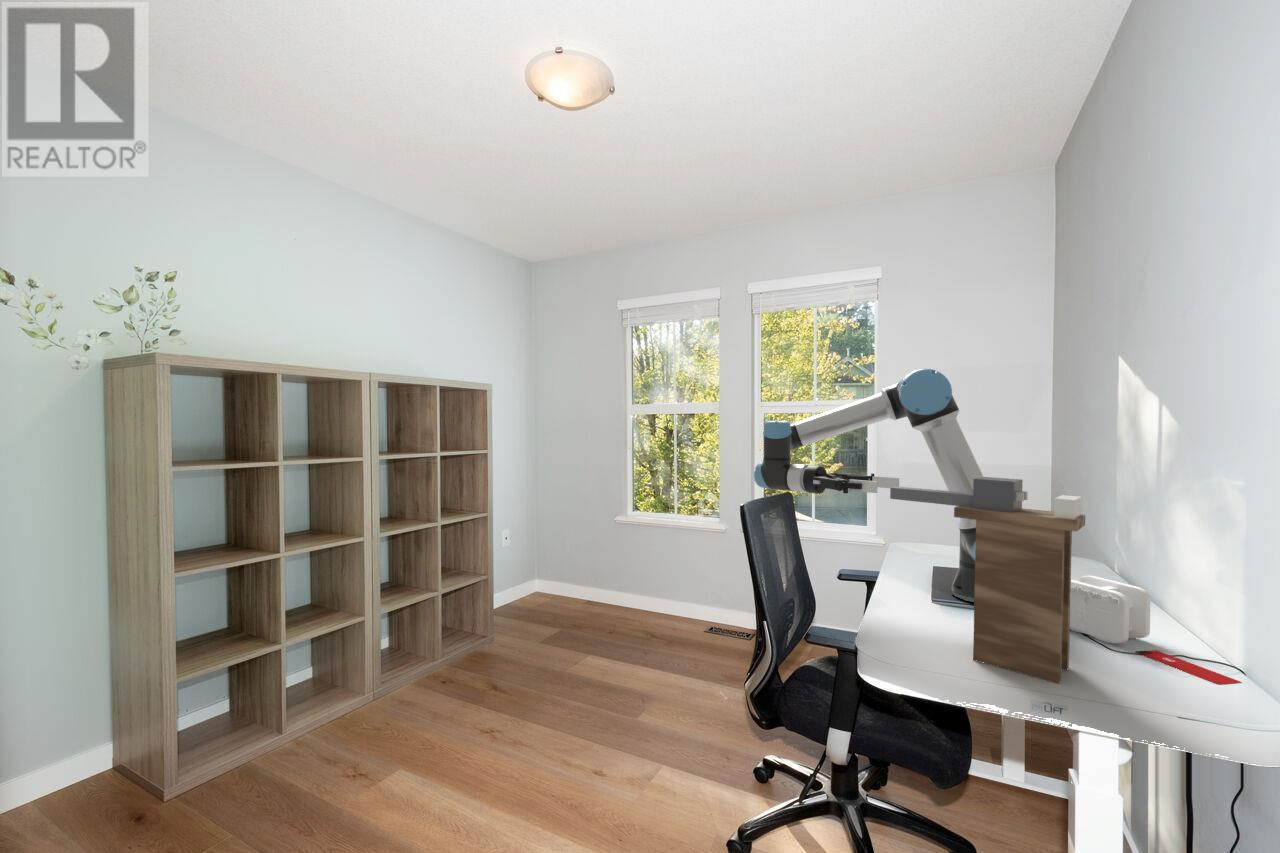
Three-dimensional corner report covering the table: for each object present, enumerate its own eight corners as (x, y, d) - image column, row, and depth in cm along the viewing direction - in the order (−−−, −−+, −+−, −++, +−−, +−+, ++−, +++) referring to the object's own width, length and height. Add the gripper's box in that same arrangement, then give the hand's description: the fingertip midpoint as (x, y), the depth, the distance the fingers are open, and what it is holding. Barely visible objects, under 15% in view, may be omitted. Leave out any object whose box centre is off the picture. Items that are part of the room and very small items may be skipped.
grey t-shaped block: (899, 496, 132) (900, 470, 132) (1028, 510, 114) (1029, 480, 114) (887, 499, 127) (888, 472, 127) (1020, 513, 109) (1021, 482, 109)
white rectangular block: (1060, 512, 111) (1061, 494, 111) (1081, 514, 109) (1081, 496, 109) (1053, 517, 105) (1053, 498, 105) (1074, 519, 103) (1074, 500, 103)
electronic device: (1243, 685, 105) (1156, 652, 120) (1243, 682, 105) (1156, 649, 120) (1217, 686, 104) (1133, 653, 119) (1217, 683, 104) (1133, 650, 119)
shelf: (965, 641, 123) (968, 502, 123) (1081, 670, 109) (1085, 514, 109) (951, 653, 116) (954, 507, 116) (1073, 687, 102) (1076, 520, 102)
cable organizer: (1155, 644, 124) (1156, 591, 123) (1121, 649, 120) (1122, 594, 120) (1082, 621, 138) (1083, 573, 138) (1050, 625, 135) (1051, 576, 135)
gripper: (829, 489, 163) (906, 496, 148) (783, 496, 145) (866, 505, 130) (829, 463, 163) (907, 467, 148) (784, 467, 145) (866, 472, 130)
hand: (888, 485), depth 139 cm, fingers open, 13 cm apart
